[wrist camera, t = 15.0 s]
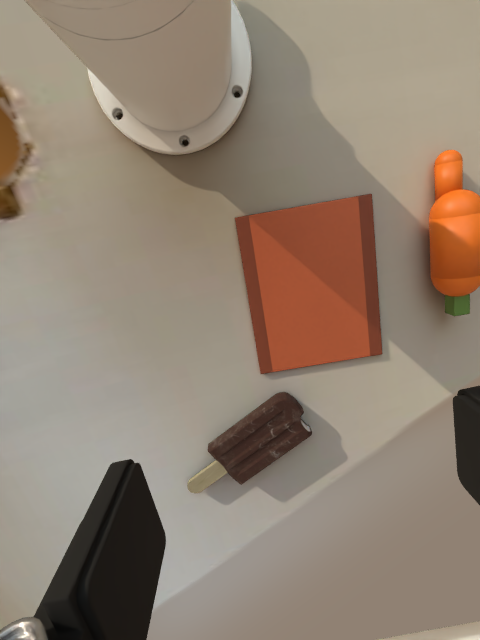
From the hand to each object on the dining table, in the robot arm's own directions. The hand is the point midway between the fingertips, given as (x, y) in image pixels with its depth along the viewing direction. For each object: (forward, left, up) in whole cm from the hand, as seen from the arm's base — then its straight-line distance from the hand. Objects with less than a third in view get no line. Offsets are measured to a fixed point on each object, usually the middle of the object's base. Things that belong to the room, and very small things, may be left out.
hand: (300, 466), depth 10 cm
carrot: (-2, +18, -24) cm, 30 cm away
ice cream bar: (+15, -3, -24) cm, 29 cm away
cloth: (0, +6, -24) cm, 24 cm away
